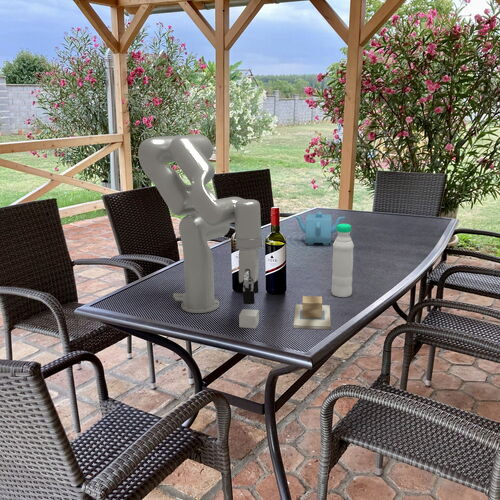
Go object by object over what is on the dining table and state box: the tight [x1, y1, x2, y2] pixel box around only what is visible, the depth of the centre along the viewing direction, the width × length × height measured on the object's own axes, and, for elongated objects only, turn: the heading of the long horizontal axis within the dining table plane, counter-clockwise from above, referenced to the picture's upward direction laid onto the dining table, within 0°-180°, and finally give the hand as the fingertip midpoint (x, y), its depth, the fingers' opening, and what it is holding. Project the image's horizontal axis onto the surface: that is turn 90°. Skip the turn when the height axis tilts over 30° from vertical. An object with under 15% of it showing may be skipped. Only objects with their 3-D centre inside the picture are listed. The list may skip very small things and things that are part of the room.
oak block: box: [302, 295, 323, 319], centre depth 162 cm, size 6×6×5 cm
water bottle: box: [331, 223, 355, 298], centre depth 179 cm, size 7×7×25 cm
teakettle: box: [292, 210, 346, 247], centre depth 250 cm, size 19×19×15 cm
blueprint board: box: [293, 303, 332, 331], centre depth 162 cm, size 11×17×1 cm, turn 173°
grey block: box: [238, 308, 260, 329], centre depth 158 cm, size 5×5×4 cm
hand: (251, 298), depth 155 cm, fingers open, 9 cm apart
